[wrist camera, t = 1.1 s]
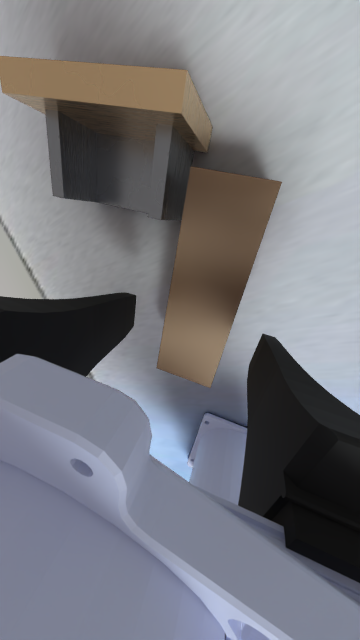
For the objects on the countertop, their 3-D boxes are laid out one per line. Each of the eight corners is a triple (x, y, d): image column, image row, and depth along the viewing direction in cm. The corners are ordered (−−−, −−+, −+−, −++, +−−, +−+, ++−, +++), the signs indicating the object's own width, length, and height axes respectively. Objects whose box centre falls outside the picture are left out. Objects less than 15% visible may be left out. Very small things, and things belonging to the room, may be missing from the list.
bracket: (194, 222, 15) (166, 223, 10) (85, 198, 17) (17, 190, 12) (212, 127, 12) (187, 70, 8) (82, 111, 14) (-4, 55, 9)
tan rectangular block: (220, 349, 19) (210, 388, 14) (178, 335, 19) (156, 367, 15) (272, 194, 13) (281, 181, 9) (210, 183, 14) (191, 166, 10)
